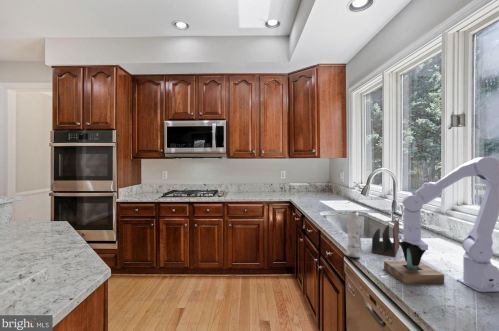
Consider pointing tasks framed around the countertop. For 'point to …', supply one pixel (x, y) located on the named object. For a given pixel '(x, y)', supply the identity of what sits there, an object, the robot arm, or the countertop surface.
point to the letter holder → (386, 241)
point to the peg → (410, 262)
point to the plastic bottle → (354, 236)
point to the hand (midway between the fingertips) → (412, 263)
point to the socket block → (413, 273)
